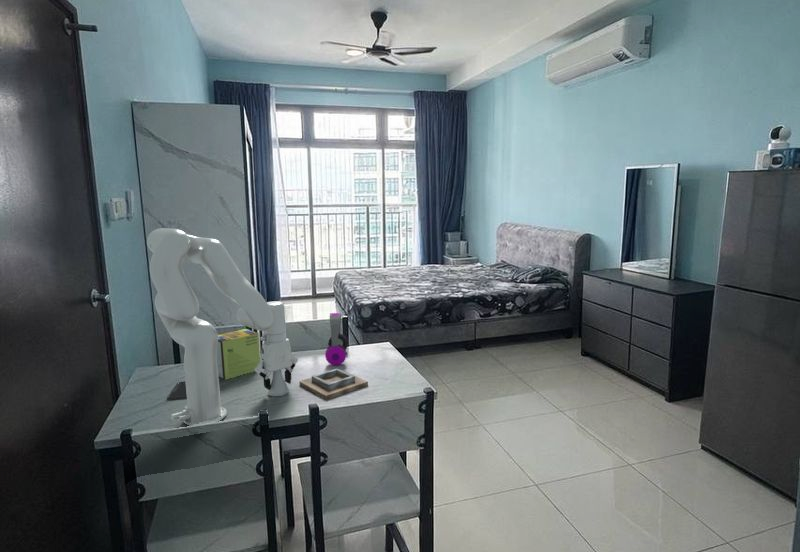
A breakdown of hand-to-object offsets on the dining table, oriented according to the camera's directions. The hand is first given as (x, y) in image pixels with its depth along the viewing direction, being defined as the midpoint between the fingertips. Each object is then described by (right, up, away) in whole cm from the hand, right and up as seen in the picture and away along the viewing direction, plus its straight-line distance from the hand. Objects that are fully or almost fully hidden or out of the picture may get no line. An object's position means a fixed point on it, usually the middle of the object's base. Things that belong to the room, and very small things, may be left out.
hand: (278, 385), depth 163 cm
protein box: (-22, 0, +22) cm, 31 cm away
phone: (-35, -4, +4) cm, 36 cm away
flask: (0, -3, 0) cm, 3 cm away
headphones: (+16, +3, +36) cm, 40 cm away
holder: (+19, -2, +6) cm, 20 cm away
